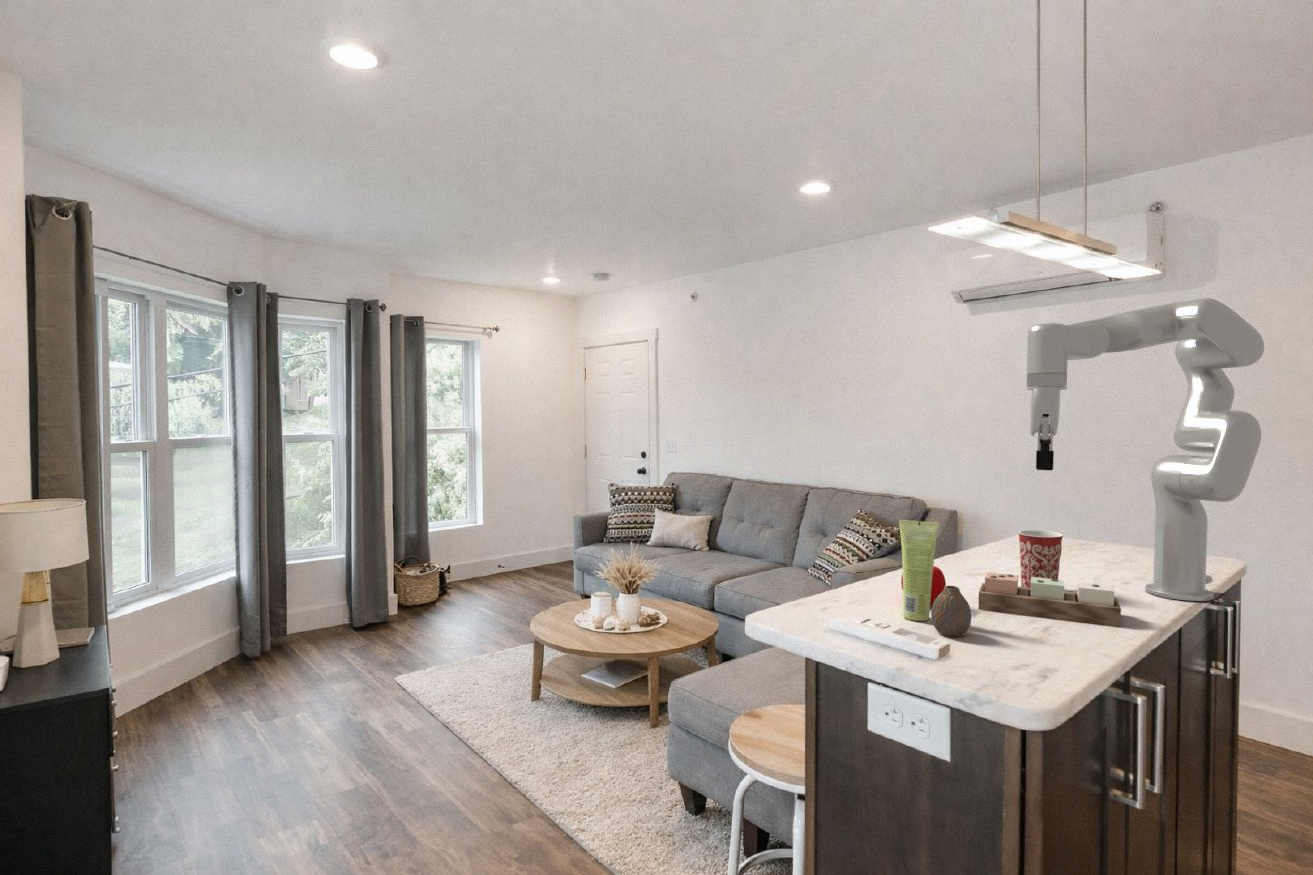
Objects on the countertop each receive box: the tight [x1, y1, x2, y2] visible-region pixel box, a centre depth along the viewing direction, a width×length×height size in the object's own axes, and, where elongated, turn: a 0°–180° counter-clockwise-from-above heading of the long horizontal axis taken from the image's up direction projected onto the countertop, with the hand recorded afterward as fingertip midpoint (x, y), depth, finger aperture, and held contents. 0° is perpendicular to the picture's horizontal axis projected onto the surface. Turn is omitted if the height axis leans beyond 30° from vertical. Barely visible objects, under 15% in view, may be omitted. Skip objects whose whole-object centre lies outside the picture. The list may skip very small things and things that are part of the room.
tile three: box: [984, 572, 1019, 595], centre depth 153 cm, size 6×6×3 cm
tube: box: [898, 519, 940, 622], centre depth 143 cm, size 6×5×20 cm
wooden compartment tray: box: [977, 582, 1122, 628], centre depth 149 cm, size 25×10×4 cm, turn 61°
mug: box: [1017, 529, 1064, 588], centre depth 166 cm, size 13×9×14 cm
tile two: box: [1030, 577, 1065, 600], centre depth 149 cm, size 6×6×3 cm
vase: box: [930, 585, 972, 638], centre depth 133 cm, size 7×7×9 cm
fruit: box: [900, 565, 947, 606], centre depth 155 cm, size 9×9×10 cm
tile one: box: [1076, 581, 1115, 606], centre depth 144 cm, size 6×6×3 cm
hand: (1044, 468), depth 153 cm, fingers closed
